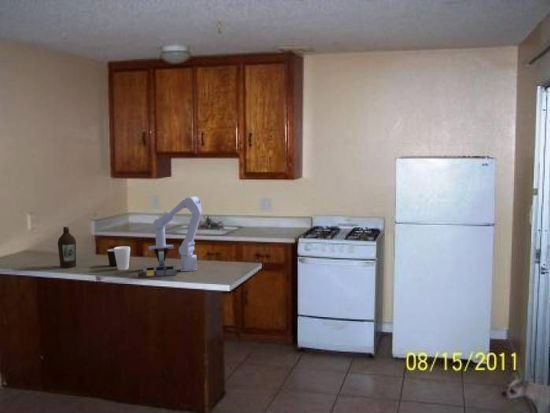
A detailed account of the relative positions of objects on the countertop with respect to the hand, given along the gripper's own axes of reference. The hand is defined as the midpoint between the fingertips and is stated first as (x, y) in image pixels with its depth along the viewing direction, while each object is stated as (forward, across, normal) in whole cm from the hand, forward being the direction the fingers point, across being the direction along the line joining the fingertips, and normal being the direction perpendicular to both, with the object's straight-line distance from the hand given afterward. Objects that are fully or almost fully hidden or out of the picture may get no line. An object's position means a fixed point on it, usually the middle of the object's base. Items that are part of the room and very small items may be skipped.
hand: (161, 260), depth 347 cm
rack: (+5, +1, +14) cm, 15 cm away
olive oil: (+5, +57, -22) cm, 61 cm away
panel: (+3, 0, 0) cm, 3 cm away
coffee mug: (+5, +27, -17) cm, 32 cm away
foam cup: (+5, +23, -6) cm, 24 cm away
